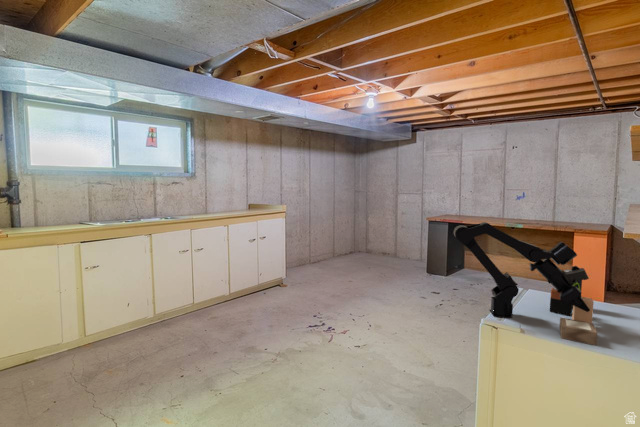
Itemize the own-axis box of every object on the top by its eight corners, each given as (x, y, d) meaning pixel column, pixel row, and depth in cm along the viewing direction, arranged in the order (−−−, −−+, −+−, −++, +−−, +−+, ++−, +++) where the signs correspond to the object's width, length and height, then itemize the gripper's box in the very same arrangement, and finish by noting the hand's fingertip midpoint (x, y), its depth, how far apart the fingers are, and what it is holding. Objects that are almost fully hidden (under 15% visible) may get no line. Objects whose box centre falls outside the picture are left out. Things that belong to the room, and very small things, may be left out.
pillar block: (573, 327, 122) (575, 299, 121) (571, 322, 126) (574, 295, 125) (591, 330, 119) (593, 302, 118) (589, 325, 123) (591, 298, 122)
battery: (570, 316, 131) (572, 290, 130) (549, 311, 136) (551, 287, 135) (572, 313, 135) (574, 288, 134) (551, 309, 139) (553, 284, 138)
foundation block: (561, 338, 112) (562, 326, 112) (559, 328, 120) (560, 317, 120) (596, 345, 108) (597, 332, 107) (592, 334, 115) (593, 323, 115)
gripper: (575, 264, 114) (615, 303, 110) (570, 255, 130) (605, 289, 125) (545, 284, 119) (582, 322, 114) (544, 272, 135) (576, 305, 130)
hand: (587, 308), depth 121 cm, fingers closed on pillar block, 5 cm apart
